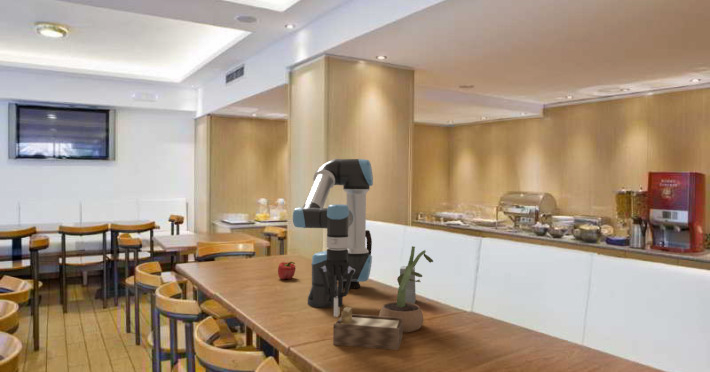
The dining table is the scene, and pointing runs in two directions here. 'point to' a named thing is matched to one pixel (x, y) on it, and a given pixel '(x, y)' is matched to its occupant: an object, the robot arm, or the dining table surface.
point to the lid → (365, 320)
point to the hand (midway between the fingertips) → (336, 315)
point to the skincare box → (409, 287)
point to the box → (368, 334)
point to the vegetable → (286, 270)
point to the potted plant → (401, 307)
